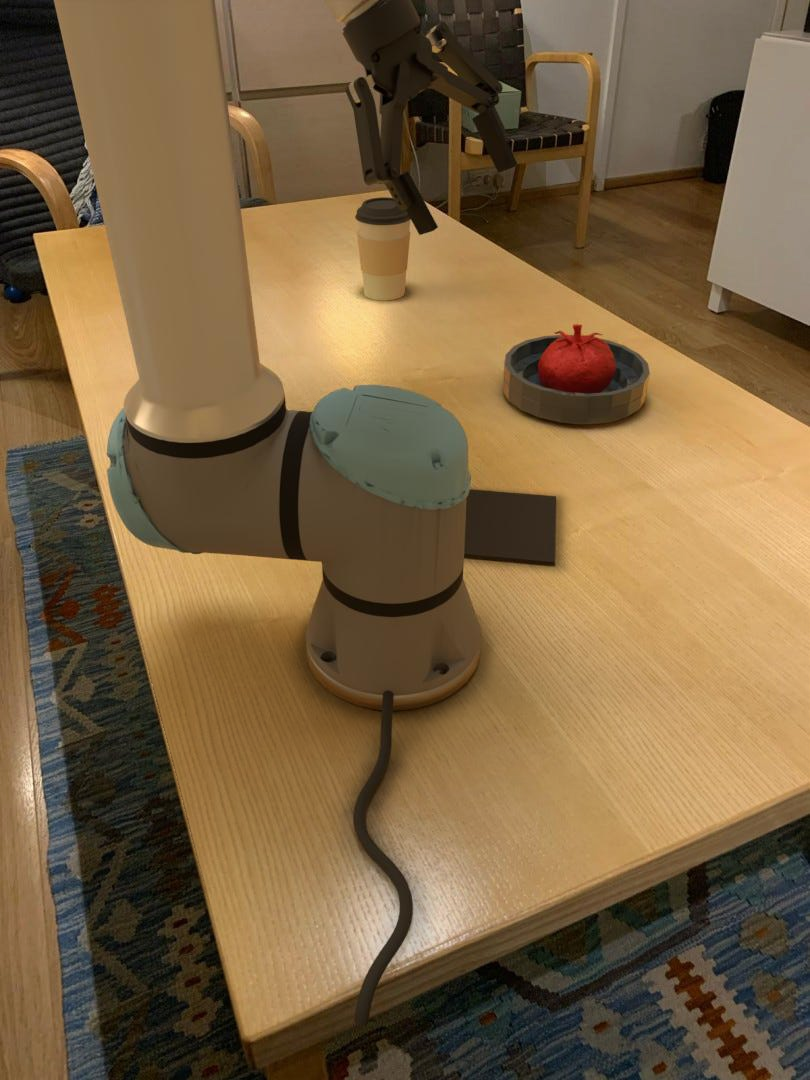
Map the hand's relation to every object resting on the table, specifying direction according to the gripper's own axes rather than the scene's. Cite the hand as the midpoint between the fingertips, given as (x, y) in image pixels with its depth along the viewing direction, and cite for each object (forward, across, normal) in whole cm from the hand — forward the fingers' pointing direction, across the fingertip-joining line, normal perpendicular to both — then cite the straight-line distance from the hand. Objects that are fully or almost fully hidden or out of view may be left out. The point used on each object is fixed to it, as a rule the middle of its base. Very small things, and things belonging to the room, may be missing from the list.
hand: (469, 199), depth 98 cm
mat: (+26, +24, +10) cm, 37 cm away
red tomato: (+29, -5, -6) cm, 30 cm away
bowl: (+30, -5, -6) cm, 31 cm away
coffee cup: (+13, -12, -47) cm, 51 cm away
